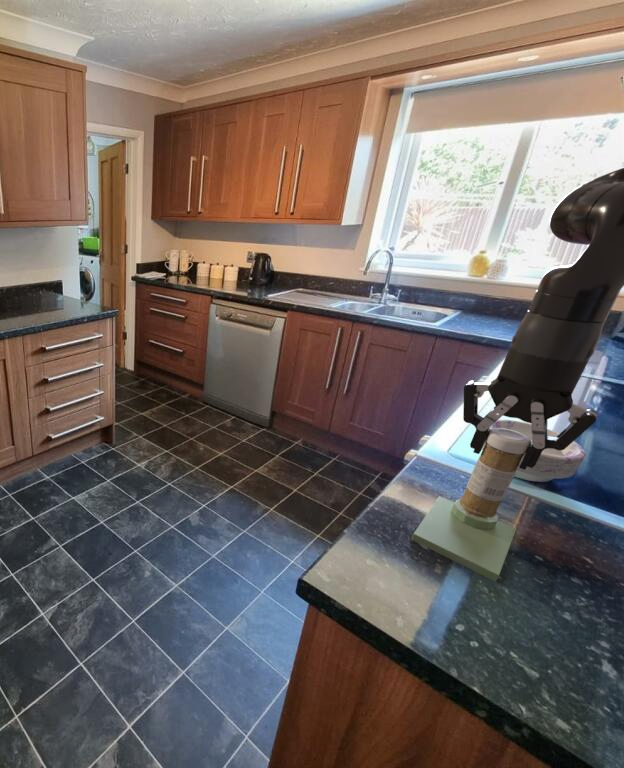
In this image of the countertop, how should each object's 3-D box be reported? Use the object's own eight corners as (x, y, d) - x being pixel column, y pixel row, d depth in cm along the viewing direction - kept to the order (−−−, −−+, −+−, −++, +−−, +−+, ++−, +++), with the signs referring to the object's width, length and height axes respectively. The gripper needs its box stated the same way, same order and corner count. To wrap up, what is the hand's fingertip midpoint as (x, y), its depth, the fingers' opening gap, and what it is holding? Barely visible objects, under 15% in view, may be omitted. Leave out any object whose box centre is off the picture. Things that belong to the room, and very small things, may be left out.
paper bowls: (579, 501, 80) (600, 466, 77) (478, 475, 87) (493, 442, 84) (556, 462, 92) (572, 431, 89) (468, 442, 99) (481, 412, 96)
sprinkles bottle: (493, 506, 66) (529, 432, 61) (496, 523, 63) (534, 446, 57) (457, 495, 69) (488, 423, 63) (458, 510, 65) (491, 436, 60)
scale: (437, 500, 79) (442, 487, 78) (514, 533, 72) (521, 519, 71) (410, 540, 70) (416, 526, 69) (495, 582, 62) (503, 567, 61)
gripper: (631, 357, 53) (569, 471, 59) (486, 331, 62) (447, 431, 69) (631, 372, 48) (563, 493, 55) (474, 341, 58) (434, 447, 65)
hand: (499, 458), depth 62 cm, fingers closed on sprinkles bottle, 4 cm apart
